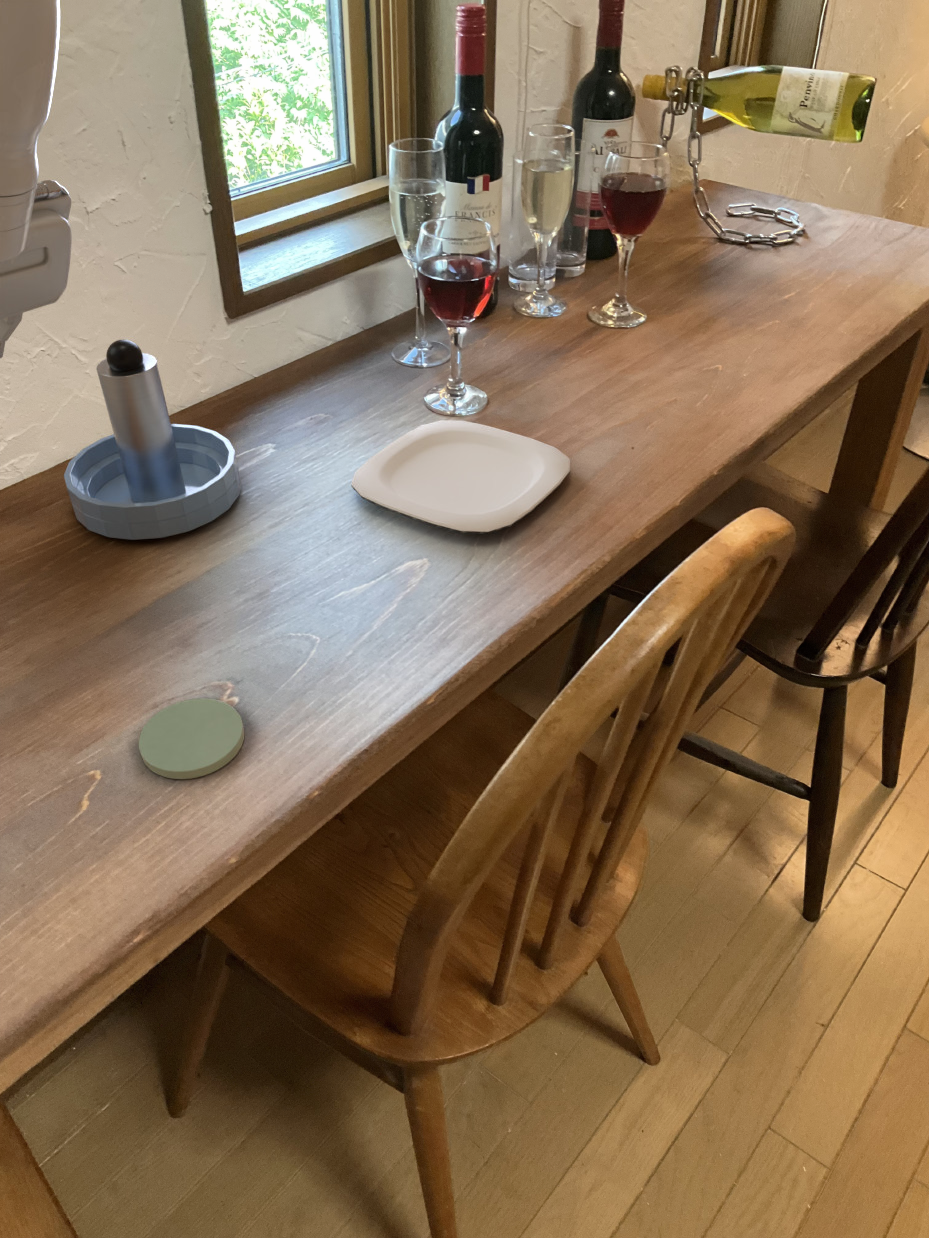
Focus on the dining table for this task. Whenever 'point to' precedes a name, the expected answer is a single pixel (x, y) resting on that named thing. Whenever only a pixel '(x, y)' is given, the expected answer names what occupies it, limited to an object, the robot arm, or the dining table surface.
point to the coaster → (191, 738)
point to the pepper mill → (140, 423)
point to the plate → (462, 476)
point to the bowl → (114, 515)
